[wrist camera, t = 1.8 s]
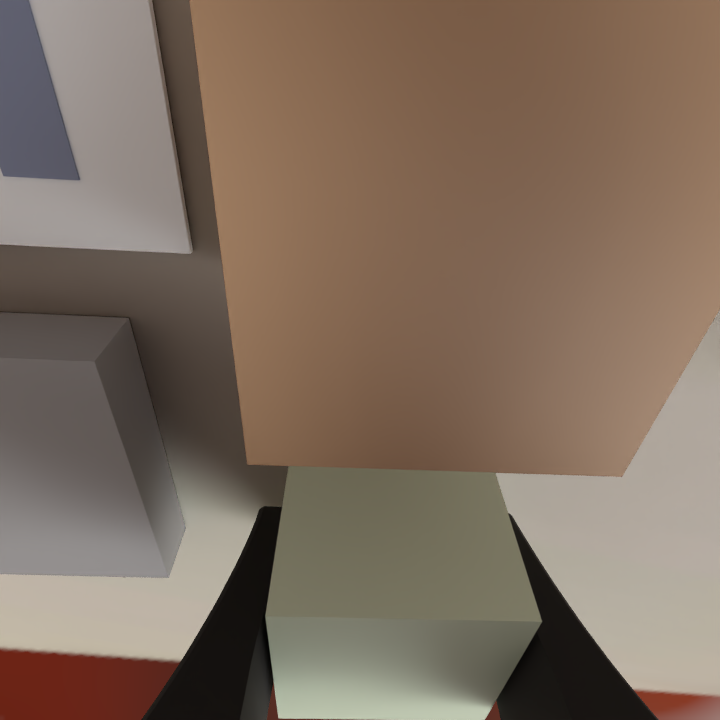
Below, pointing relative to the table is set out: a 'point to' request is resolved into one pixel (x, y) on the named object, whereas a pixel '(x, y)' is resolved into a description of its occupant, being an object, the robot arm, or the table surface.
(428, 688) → the block
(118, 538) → the slab
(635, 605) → the table surface
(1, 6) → the blueprint sheet
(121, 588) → the table surface
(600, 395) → the block
